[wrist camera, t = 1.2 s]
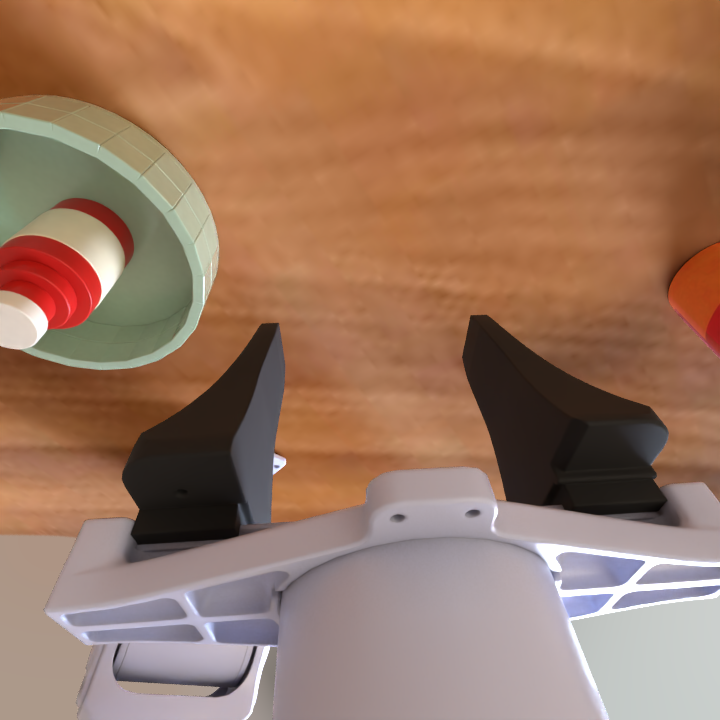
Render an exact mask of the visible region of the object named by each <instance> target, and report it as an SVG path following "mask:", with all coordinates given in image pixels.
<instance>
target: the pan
mask: <svg viewBox="0 0 720 720" xmlns="http://www.w3.org/2000/svg"><path fill="white" fill-rule="evenodd" d="M71 198H83V199H88V200H92V201H95V202H98V203H100V204H102V205H104V206H106V207H108V208H109V209H111V210H112V211H113V212H115V213H116V214H117V215H118V216H119V217H120V218H121V219H122V220H123V221H124V223H125V224H126V225H127V227H128V229H129V230H130V232H131V235H132V238H133V242H134V253H133V256H132V258H131V260H130V262H129V263H128V264H127V266H126V267H125V268H124V270H123V272H122V274H121V276H120V277H119V278H118V280H117V281H116V282H115V284H114V285H113V286H112V288H111V289H110V290H109V292H108V293H107V294H106V296H105V297H104V299H103V300H102V301H101V303H100V304H99V305H98V306H97V307H96V308H95V309H94V310H93V311H92V313H91V314H90V315H89V317H88V318H87V319H86V320H85V321H84V322H83V323H81V324H79V325H77V326H75V327H71V328H67V329H47V331H46V332H45V333H44V335H43V336H42V337H41V338H40V339H39V341H38V342H37V343H36V344H35V345H33V346H31V347H29V348H25V349H19V350H22V351H24V352H26V353H28V354H30V355H33V356H36V357H38V358H42V359H46V360H49V361H53V362H56V363H60V364H63V365H67V366H69V365H70V366H71V367H80V368H89V369H97V370H111V369H126V368H135V367H138V366H141V365H145V364H148V363H152V362H155V361H158V360H160V359H161V358H163V357H165V356H166V355H168V354H169V353H171V352H173V351H174V350H176V349H177V348H179V347H180V346H181V345H182V344H183V343H184V342H185V341H186V339H187V338H188V337H189V336H190V335H191V333H192V332H193V331H194V330H195V329H196V327H197V324H198V322H199V319H200V317H201V314H202V311H203V309H204V306H205V304H206V301H207V299H208V296H209V293H210V291H211V288H212V285H213V282H214V280H215V276H216V274H217V269H218V261H219V242H218V236H217V231H216V226H215V223H214V220H213V217H212V214H211V211H210V209H209V207H208V205H207V202H206V200H205V198H204V196H203V194H202V193H201V191H200V190H199V188H198V186H197V185H196V183H195V181H194V180H193V179H192V177H191V176H190V175H189V173H188V172H187V171H186V170H185V168H184V167H183V166H182V164H181V163H180V162H179V161H178V160H177V159H176V158H175V157H174V156H173V155H172V154H171V153H170V152H169V151H168V150H167V149H166V148H165V147H164V146H162V145H161V144H160V143H159V142H158V141H157V140H155V139H154V138H153V137H152V136H150V135H149V134H148V133H146V132H145V131H143V130H142V129H140V128H139V127H138V126H136V125H135V124H133V123H131V122H129V121H128V120H126V119H124V118H122V117H120V116H119V115H117V114H115V113H113V112H110V111H108V110H106V109H103V108H101V107H99V106H96V105H94V104H90V103H87V102H83V101H80V100H77V99H73V98H67V97H61V96H55V95H26V96H18V97H9V98H4V99H1V100H0V247H1V246H2V245H3V243H4V242H5V241H6V240H8V239H9V238H10V237H12V236H13V235H14V234H16V233H17V232H18V231H20V230H21V229H22V228H24V227H25V226H26V225H28V224H29V223H30V222H32V221H33V220H34V219H36V218H37V217H38V216H40V215H41V214H42V213H44V212H46V211H48V210H50V209H51V208H52V207H54V206H55V205H56V204H58V203H59V202H61V201H63V200H66V199H71Z"/></svg>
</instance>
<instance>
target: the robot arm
mask: <svg viewBox="0 0 720 720" xmlns="http://www.w3.org/2000/svg"><path fill="white" fill-rule="evenodd" d="M462 358H463V363H464V367H465V371H466V375H467V379H468V381H469V384H470V387H471V389H472V391H473V394H474V396H475V399H476V401H477V404H478V406H479V408H480V411H481V413H482V416H483V418H484V420H485V423H486V425H487V428H488V431H489V434H490V437H491V440H492V444H493V448H494V451H495V455H496V458H497V462H498V466H499V470H500V474H501V478H502V482H503V487H504V491H505V496H506V500H507V501H503V500H496V499H495V497H494V494H493V491H492V488H491V485H490V482H489V479H488V476H487V474H485V473H484V472H482V471H481V470H479V469H478V468H473V467H464V466H459V467H442V468H425V469H407V470H395V471H390V472H385V473H382V474H380V475H379V476H377V477H376V478H374V479H372V480H371V481H370V483H369V485H368V487H367V489H366V501H365V504H361V505H357V506H353V507H350V508H346V509H342V510H338V511H334V512H330V513H326V514H323V515H319V516H315V517H311V518H307V519H303V520H299V521H296V522H280V523H271V503H272V481H273V474H275V473H276V472H277V471H278V470H280V469H281V468H282V467H283V466H285V464H286V459H285V458H283V457H281V456H279V455H277V454H275V453H274V447H275V439H276V432H277V427H278V421H279V415H280V410H281V404H282V398H283V393H284V383H285V360H284V354H283V347H282V341H281V334H280V328H279V323H266V324H261V325H260V326H259V328H258V330H257V331H256V333H255V334H254V336H253V337H252V339H251V340H250V342H249V343H248V345H247V346H246V347H245V349H244V350H243V351H242V353H241V354H240V355H239V357H238V358H237V359H236V360H235V362H234V363H233V364H232V365H231V366H230V367H229V369H228V370H227V371H226V372H225V373H224V374H223V375H222V376H221V377H220V379H219V380H218V381H217V382H216V383H214V384H213V385H212V386H211V387H210V388H209V389H208V390H207V391H206V392H204V393H203V394H202V395H201V396H199V397H198V398H197V399H196V400H194V401H193V402H192V403H191V404H189V405H188V406H186V407H185V408H184V409H182V410H181V411H179V412H178V413H176V414H175V415H173V416H171V417H170V418H168V419H166V420H165V421H163V422H161V423H159V424H158V425H156V426H154V427H152V428H150V429H148V430H147V431H145V432H143V433H141V435H140V437H139V438H138V440H137V442H136V444H135V445H134V447H133V449H132V451H131V454H130V456H129V458H128V461H127V463H126V466H125V468H124V470H123V474H122V480H123V483H124V485H125V487H126V489H127V490H128V492H129V494H130V495H131V497H132V498H133V500H134V501H135V503H136V505H137V506H138V508H139V509H140V510H139V513H138V516H137V518H136V521H134V520H133V519H130V518H124V517H118V518H102V519H88V520H86V521H84V523H83V525H82V527H81V530H80V532H79V534H78V536H77V538H76V540H75V543H74V545H73V547H72V549H71V551H70V554H69V556H68V558H67V560H66V562H65V564H64V567H63V569H62V571H61V573H60V575H59V577H58V580H57V582H56V584H55V586H54V588H53V590H52V593H51V595H50V597H49V599H48V601H47V604H46V606H45V608H44V612H45V614H46V615H48V616H49V617H50V618H52V619H53V620H54V621H56V622H57V623H58V624H59V625H61V626H62V627H63V628H64V629H66V630H67V631H68V632H70V633H71V634H72V635H74V636H75V637H76V638H77V639H79V640H80V641H81V642H83V643H84V644H85V645H93V646H92V649H91V652H90V655H89V658H88V662H87V665H86V673H85V676H84V679H83V681H82V684H81V687H80V690H79V693H78V696H77V700H76V704H77V706H78V712H77V718H78V720H246V719H247V718H248V717H249V716H250V714H251V713H252V710H253V706H254V704H255V701H256V696H257V692H258V686H259V681H260V677H261V673H262V669H263V666H264V664H265V661H266V658H267V655H268V652H269V648H270V647H278V648H277V662H276V676H275V690H274V704H273V720H609V717H608V714H607V712H606V709H605V707H604V704H603V702H602V700H601V697H600V695H599V692H598V689H597V687H596V684H595V682H594V679H593V677H592V674H591V672H590V669H589V667H588V664H587V662H586V659H585V657H584V654H583V652H582V649H581V647H580V644H579V642H578V639H577V637H576V634H575V631H574V629H573V626H572V624H571V622H570V620H575V619H580V618H585V617H590V616H596V615H601V614H606V613H611V612H617V611H622V610H627V609H633V608H638V607H644V606H649V605H655V604H663V603H670V602H677V601H685V600H694V599H695V600H696V599H706V598H714V597H716V596H718V595H719V594H720V502H719V501H718V500H717V498H716V497H715V496H714V495H713V493H712V492H711V491H710V490H709V488H708V487H707V486H706V485H705V483H703V482H691V483H675V484H668V485H665V486H662V487H660V488H659V487H658V486H657V485H656V483H655V482H654V480H653V479H655V478H656V477H657V475H656V472H655V471H654V469H653V468H652V467H651V464H652V463H653V461H654V460H655V459H656V457H657V456H658V454H659V453H660V452H661V450H662V449H663V448H664V446H665V444H666V442H667V440H668V434H669V432H668V430H667V427H666V426H665V425H664V424H663V422H662V421H661V420H660V419H659V417H658V416H657V415H656V414H655V412H654V411H653V410H652V409H651V408H650V407H649V406H646V405H643V404H640V403H636V402H633V401H630V400H627V399H624V398H621V397H618V396H616V395H613V394H611V393H608V392H606V391H603V390H601V389H598V388H596V387H594V386H591V385H589V384H587V383H585V382H583V381H581V380H579V379H577V378H575V377H573V376H571V375H569V374H567V373H565V372H564V371H562V370H560V369H559V368H557V367H555V366H554V365H552V364H550V363H549V362H547V361H546V360H544V359H543V358H541V357H540V356H538V355H537V354H535V353H534V352H533V351H531V350H530V349H529V348H527V347H526V346H525V345H523V344H522V343H521V342H519V341H518V340H517V339H516V338H514V337H513V336H512V335H511V334H509V333H508V332H507V331H506V330H505V329H503V328H502V327H501V326H500V325H499V324H498V323H496V322H495V321H494V320H493V319H491V318H490V317H489V316H487V315H471V317H470V322H469V326H468V331H467V336H466V341H465V346H464V351H463V356H462ZM117 681H129V682H147V683H163V684H180V685H197V686H214V687H220V688H219V689H218V690H216V691H215V692H214V693H213V694H211V695H209V696H206V697H202V696H182V695H181V696H180V695H162V694H141V693H133V692H130V691H126V690H124V689H123V688H121V687H120V685H119V684H118V683H117Z"/></svg>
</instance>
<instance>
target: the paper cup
mask: <svg viewBox="0 0 720 720" xmlns="http://www.w3.org/2000/svg"><path fill="white" fill-rule="evenodd" d="M668 299H669V303H670V305H671V306H672V308H673V309H674V310H675V311H676V313H677V314H678V315H679V316H680V317H681V318H682V319H683V320H684V321H685V323H686V324H687V325H688V326H689V327H690V328H691V329H692V330H693V331H694V332H695V333H696V334H697V335H698V336H699V337H700V338H701V339H702V340H703V342H704V343H705V344H706V345H707V346H708V347H709V348H710V349H711V350H712V351H713V352H714V353H715V354H716V355H717V356H718V357H719V358H720V242H719V243H716V244H714V245H711V246H709V247H707V248H706V249H704V250H702V251H701V252H699V253H698V254H696V255H695V256H693V257H692V258H691V259H690V260H689V261H688V262H687V263H685V264H684V265H683V267H682V268H681V269H680V270H679V271H678V273H677V274H676V275H675V277H674V279H673V280H672V282H671V285H670V288H669V292H668Z"/></svg>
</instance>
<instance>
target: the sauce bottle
mask: <svg viewBox="0 0 720 720" xmlns="http://www.w3.org/2000/svg"><path fill="white" fill-rule="evenodd" d="M133 253H134V242H133V238H132V235H131V232H130V230H129V229H128V227H127V225H126V224H125V223H124V221H123V220H122V219H121V218H120V217H119V216H118V215H117V214H116V213H115V212H113V211H112V210H111V209H109V208H108V207H106V206H104V205H102V204H100V203H98V202H95V201H92V200H88V199H83V198H71V199H66V200H63V201H61V202H59V203H58V204H56V205H55V206H54V207H52V208H51V209H50V210H48V211H46V212H44V213H42V214H41V215H40V216H38V217H37V218H36V219H34V220H33V221H32V222H30V223H29V224H28V225H26V226H25V227H24V228H22V229H21V230H20V231H18V232H17V233H16V234H14V235H13V236H12V237H10V238H9V239H8V240H6V241H5V242H4V243H3V245H2V246H1V247H0V346H2V347H6V348H11V349H25V348H29V347H31V346H33V345H35V344H36V343H37V342H38V341H39V339H40V338H41V337H42V336H43V335H44V333H45V332H46V331H47V329H67V328H71V327H75V326H77V325H79V324H81V323H83V322H84V321H85V320H86V319H87V318H88V317H89V315H90V314H91V313H92V311H93V310H94V309H95V308H96V307H97V306H98V305H99V304H100V303H101V301H102V300H103V299H104V297H105V296H106V294H107V293H108V292H109V290H110V289H111V288H112V286H113V285H114V284H115V282H116V281H117V280H118V278H119V277H120V276H121V274H122V272H123V270H124V268H125V267H126V266H127V264H128V263H129V262H130V260H131V258H132V256H133Z"/></svg>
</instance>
